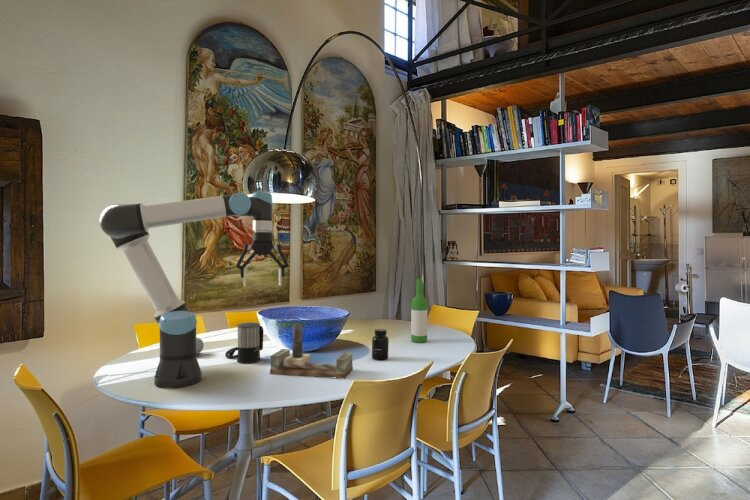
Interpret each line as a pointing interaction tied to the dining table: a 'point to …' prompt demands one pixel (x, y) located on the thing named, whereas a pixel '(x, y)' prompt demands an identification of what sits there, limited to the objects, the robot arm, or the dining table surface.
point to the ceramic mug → (199, 345)
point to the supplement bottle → (380, 345)
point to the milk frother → (248, 343)
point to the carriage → (297, 350)
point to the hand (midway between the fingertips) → (262, 285)
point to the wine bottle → (419, 315)
